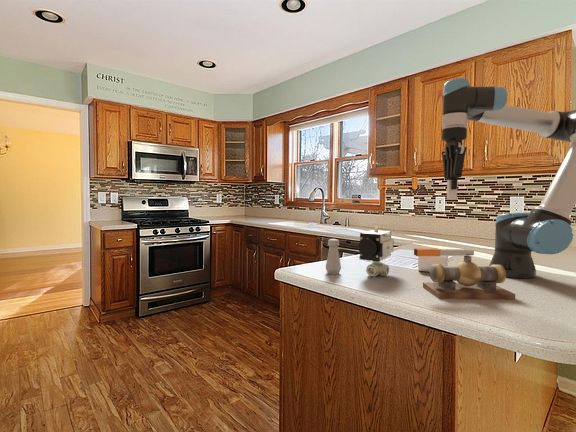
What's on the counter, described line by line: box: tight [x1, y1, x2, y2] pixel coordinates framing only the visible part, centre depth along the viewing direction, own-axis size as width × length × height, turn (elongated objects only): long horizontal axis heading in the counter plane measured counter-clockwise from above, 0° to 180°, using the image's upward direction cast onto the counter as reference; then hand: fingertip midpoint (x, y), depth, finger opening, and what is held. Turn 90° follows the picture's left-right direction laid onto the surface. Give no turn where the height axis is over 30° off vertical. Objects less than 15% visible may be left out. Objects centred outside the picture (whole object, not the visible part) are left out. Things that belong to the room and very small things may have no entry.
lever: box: [413, 247, 475, 257], centre depth 104 cm, size 18×3×2 cm, turn 91°
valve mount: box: [422, 255, 516, 300], centre depth 104 cm, size 22×12×11 cm, turn 89°
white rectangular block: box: [417, 256, 449, 273], centre depth 134 cm, size 12×10×8 cm
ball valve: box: [357, 227, 394, 278], centre depth 127 cm, size 18×8×18 cm, turn 147°
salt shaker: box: [325, 238, 342, 276], centre depth 129 cm, size 6×6×13 cm
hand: (451, 199), depth 115 cm, fingers closed
